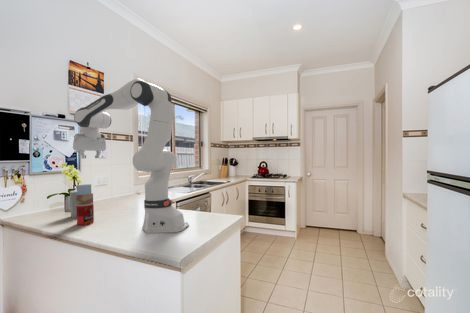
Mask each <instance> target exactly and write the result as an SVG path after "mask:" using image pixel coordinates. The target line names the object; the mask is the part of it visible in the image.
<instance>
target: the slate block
mask: <svg viewBox="0 0 470 313" xmlns="http://www.w3.org/2000/svg"><path fill="white" fill-rule="evenodd" d="M76 190H77V195H87V194H91V193H92V184H90V183H89V184H88V183H87V184H86V183H84V184H78V185H77V184H76Z"/></svg>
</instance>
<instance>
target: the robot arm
mask: <svg viewBox="0 0 470 313" xmlns="http://www.w3.org/2000/svg"><path fill="white" fill-rule="evenodd" d="M139 104H140V105H142V106H143V107H148V108H149V110H150V116H149V123H148V129H147V134H146V138H145V140H144V142H143V144H142V145H141V147H140V148H139V149H138V151H136V152H135V153H134V154H133V156H132V166H133V167H134V169H135V170H137V171H139V172H143V173H150V175H149V178H148V179H147V180H146V182H144V183H145V184H144V200H143V202H144V203H143V206H144V217H143V224H142V227H141V228H142V231H144V233H145V234H156V233H157V234H160V233H161V234H162V233H164V234H167V233H173V234H174V233H179V232H181V231H184V230H186V229H187V228H188V227H189V222H188V221H185V218H184V215H183V213H182V212H181V211H180V210H178V209H177V208H176V207H175V206H174V205H173V204H172V203H173V202H174V199H170V198H169V181H170V177H171V173H172V170H173V168H174V167H175V166H176V163H177V156H176V154H175V153H174V152H172V151H170V150H169V149H164V148H165V146H166V145H167V144H168V142H170V140H171V139H172V131H173V124H174V111H175V110H174V105H173V102H172V95H171V94H170V92H168V91H167V90H165V89H164V88H161V86H157V85H156V84H153V83H150V82H147V81H145V80H143V79H141V78H134V79H132V80H130V81H128V82H127V83H125V84H124V85H123V86H121V87H120V88H118V89H117V90H114V91H113V92H111V93H109V94H108V93H107V94H104V95H102V96H101V97H99V98H98V99H96V100H94V101H93V102H91V103H89V104H88V105H86V106H84V107H80V108H78V109H77V110H76V111H75V113H74V115H73V119H74V122H75V123H76V125H78V126H79V127H80V133H76V134H74V136H73V141H72V142H73V143H72V149H73V150H74V151H79V154H80V156H81V157H80V158H81V159H83V160H84V159H87V155H86V153H85V151H91V152H92V151H93V152H94V151H95V155H94V159H100V155H101V153H102V152H103V151H106V149H107V145H106V144H107V141H106V137H107V136H106V134H104V133H102V132H100V130H99V129H108V128H109V127H110V126H111V124H112V117H111V115H110V113H108V112H105V111H107V110H108V111H109V110H126V111H128V110H130V109H133V108H135V107H136V106H137V105H139ZM187 226H188V227H187ZM186 227H187V228H186Z"/></svg>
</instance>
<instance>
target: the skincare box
mask: <svg viewBox="0 0 470 313" xmlns="http://www.w3.org/2000/svg"><path fill="white" fill-rule="evenodd" d="M76 195H77V189H76V190H70V191H69V203H70V204H69V206H70V216H71V218H72V219H77V212H76Z"/></svg>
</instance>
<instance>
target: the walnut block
mask: <svg viewBox="0 0 470 313" xmlns="http://www.w3.org/2000/svg"><path fill="white" fill-rule="evenodd" d="M89 203H93V204H94V193H93V192H91V194H87V195H76V204H82V205H85V204H89Z"/></svg>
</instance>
